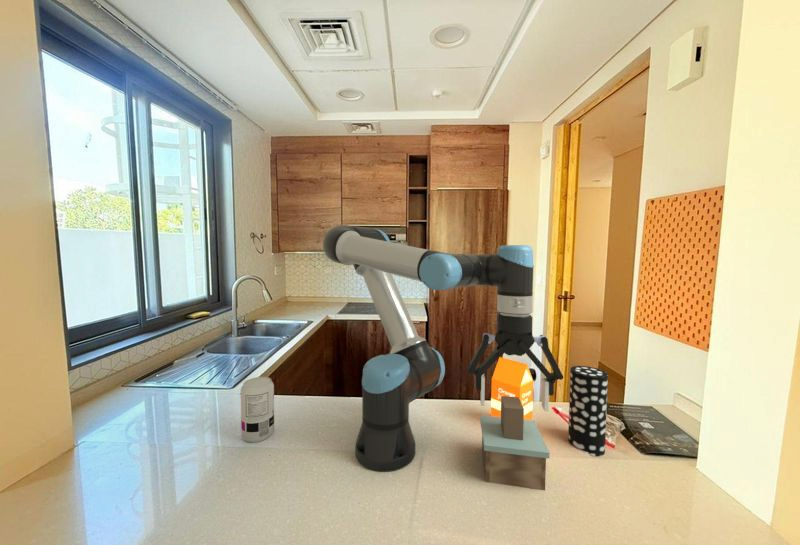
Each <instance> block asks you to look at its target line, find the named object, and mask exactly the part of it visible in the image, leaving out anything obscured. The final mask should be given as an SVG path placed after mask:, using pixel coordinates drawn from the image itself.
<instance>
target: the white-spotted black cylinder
mask: <svg viewBox="0 0 800 545" xmlns="http://www.w3.org/2000/svg"><path fill="white" fill-rule="evenodd" d="M569 372H570V375H569V400H568V401H569V404H568V405H569V407H568V431H567V434H568V435H567V440H568V442H569V444H570V445H571V446H573V447H574V448H576V449H578V450H580V451H583V452H584V453H585V452H586V453H588V455H589V456H591V457H601V456H603V455H604V454H605V452H606V438H607V436H606V435H607V434H606V433H607V431H606V430H607V412H608V411H607V409H608V408H607V407H608V403H607V402H608V383H609V382H608V381H609V374H608V372H606V371H604V370H603V369H599V368H596V367H593V366H587V365H573V366H571V367H570V370H569Z"/></svg>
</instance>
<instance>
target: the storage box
mask: <svg viewBox="0 0 800 545" xmlns="http://www.w3.org/2000/svg"><path fill="white" fill-rule="evenodd" d="M481 437H482V436H481ZM481 452H482V462H483V470H484V478H485V483H489V484H495V485H496V484H497V485H505V486H509V487H510V486H511V487H518V488H525V489H531V490H532V489H533V490H538V491H546V474H547V473H546V472H547V471H546V469H547V466H546V464H547V458H540V457H532V456H524V455H516V454H508V453H500V452H491V451H484V446H483V437H482V439H481Z"/></svg>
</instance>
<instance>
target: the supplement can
mask: <svg viewBox="0 0 800 545" xmlns="http://www.w3.org/2000/svg"><path fill="white" fill-rule="evenodd" d="M240 423H241V426H240V428H241V430H240V434H241V439H242V440H243V441H245V442H247V443H259V442H262V441H265V440H267V439H268V438H270V437H271V435H273V434H274V432H275V384H274V382H273V381H272V378H271V377H268V376H257V377H252V378H249V379H247V380H246V379H245V381H243V384H242V386H241V389H240Z"/></svg>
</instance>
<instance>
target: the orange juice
mask: <svg viewBox="0 0 800 545" xmlns="http://www.w3.org/2000/svg"><path fill="white" fill-rule="evenodd" d="M490 391H491V394H490V395H491V398H490V416H494V417H501V396H510V397H519V399H520V401H521V404H522V406H523V408H524V420H533V406H534V405H533V404H534V402H533V401H534V379H533V376H532V374H531V371H530V369H529V366H528V364H527V363H524V362H519V361H516V360H513V359H509V358H505V357H502V356H501V357H499V358H498V359H497V363H496V366H495V369H494V371H493V375H492V377H491V390H490Z"/></svg>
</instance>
